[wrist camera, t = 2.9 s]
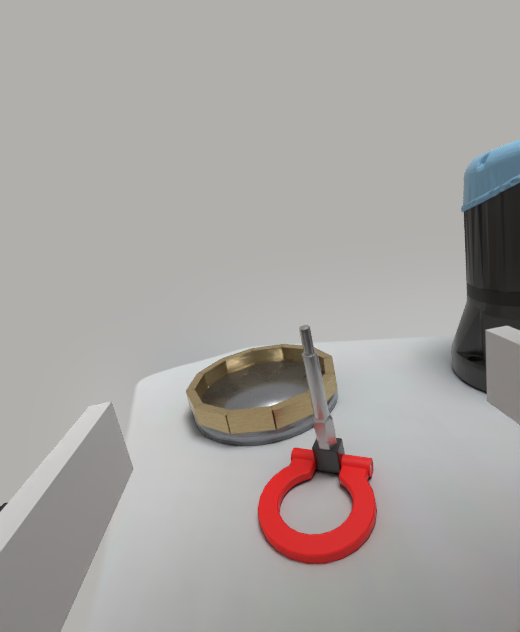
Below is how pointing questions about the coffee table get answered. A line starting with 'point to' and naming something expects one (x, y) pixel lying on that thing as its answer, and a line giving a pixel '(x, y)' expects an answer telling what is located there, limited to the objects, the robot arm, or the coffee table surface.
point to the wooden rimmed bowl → (258, 395)
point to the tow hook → (302, 467)
